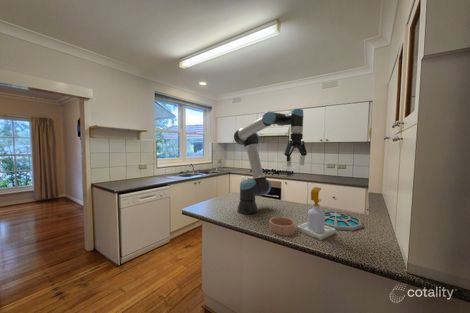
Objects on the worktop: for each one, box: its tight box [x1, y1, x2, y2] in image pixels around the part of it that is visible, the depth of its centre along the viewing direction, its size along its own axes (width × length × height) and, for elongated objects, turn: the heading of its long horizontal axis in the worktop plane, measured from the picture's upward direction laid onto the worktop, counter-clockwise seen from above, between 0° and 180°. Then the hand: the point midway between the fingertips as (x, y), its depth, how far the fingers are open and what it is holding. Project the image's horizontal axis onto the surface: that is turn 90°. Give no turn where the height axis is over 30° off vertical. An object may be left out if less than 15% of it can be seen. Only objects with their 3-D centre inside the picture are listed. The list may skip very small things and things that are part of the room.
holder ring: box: [268, 216, 296, 236], centre depth 112 cm, size 14×14×5 cm
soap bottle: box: [307, 186, 325, 233], centre depth 109 cm, size 9×9×25 cm
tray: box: [296, 222, 336, 242], centre depth 110 cm, size 15×15×2 cm
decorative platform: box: [322, 210, 364, 232], centre depth 127 cm, size 31×29×5 cm
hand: (295, 165), depth 125 cm, fingers open, 13 cm apart
